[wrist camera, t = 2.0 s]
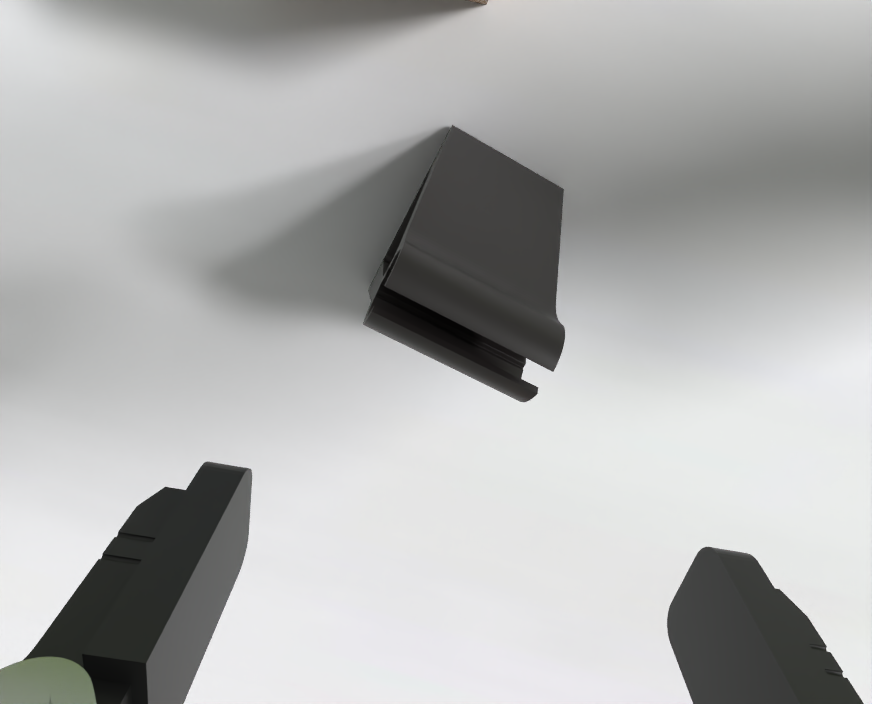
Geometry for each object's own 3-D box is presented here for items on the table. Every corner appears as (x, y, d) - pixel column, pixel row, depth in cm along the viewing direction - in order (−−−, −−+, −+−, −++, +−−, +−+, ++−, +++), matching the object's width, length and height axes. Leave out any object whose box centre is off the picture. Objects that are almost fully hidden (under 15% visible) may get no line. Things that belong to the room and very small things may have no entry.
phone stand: (452, 123, 26) (450, 160, 16) (563, 188, 27) (631, 265, 17) (368, 286, 30) (318, 409, 19) (468, 338, 31) (475, 481, 20)
